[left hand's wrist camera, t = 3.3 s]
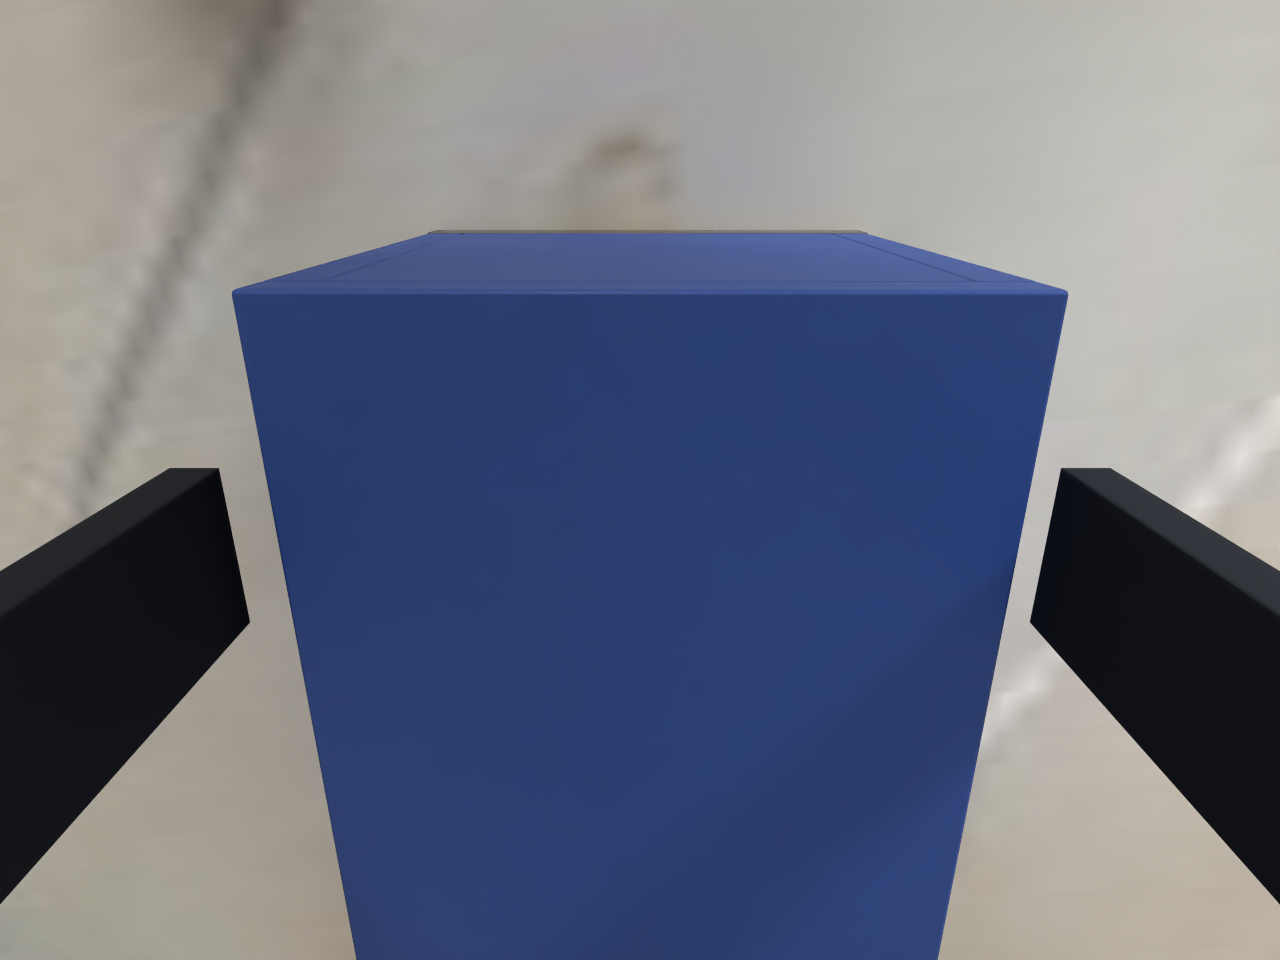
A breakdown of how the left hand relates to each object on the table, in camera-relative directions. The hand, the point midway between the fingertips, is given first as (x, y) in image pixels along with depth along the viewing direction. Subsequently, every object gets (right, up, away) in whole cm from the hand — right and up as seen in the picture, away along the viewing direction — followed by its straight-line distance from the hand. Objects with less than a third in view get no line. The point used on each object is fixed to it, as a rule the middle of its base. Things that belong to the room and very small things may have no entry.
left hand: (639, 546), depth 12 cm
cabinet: (0, -3, +12) cm, 12 cm away
